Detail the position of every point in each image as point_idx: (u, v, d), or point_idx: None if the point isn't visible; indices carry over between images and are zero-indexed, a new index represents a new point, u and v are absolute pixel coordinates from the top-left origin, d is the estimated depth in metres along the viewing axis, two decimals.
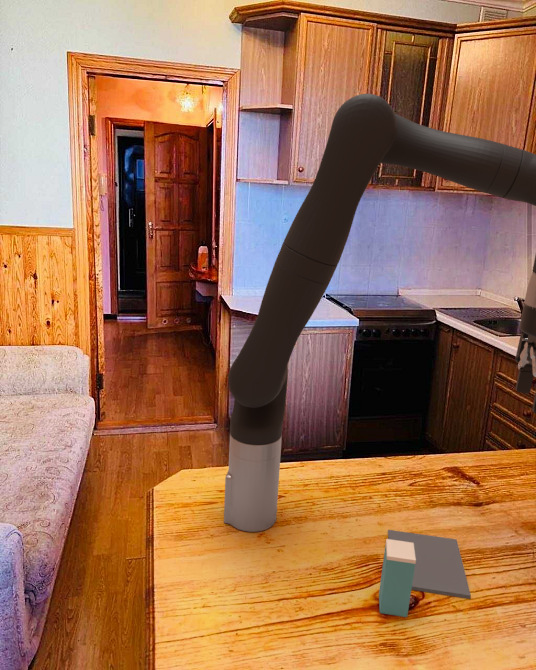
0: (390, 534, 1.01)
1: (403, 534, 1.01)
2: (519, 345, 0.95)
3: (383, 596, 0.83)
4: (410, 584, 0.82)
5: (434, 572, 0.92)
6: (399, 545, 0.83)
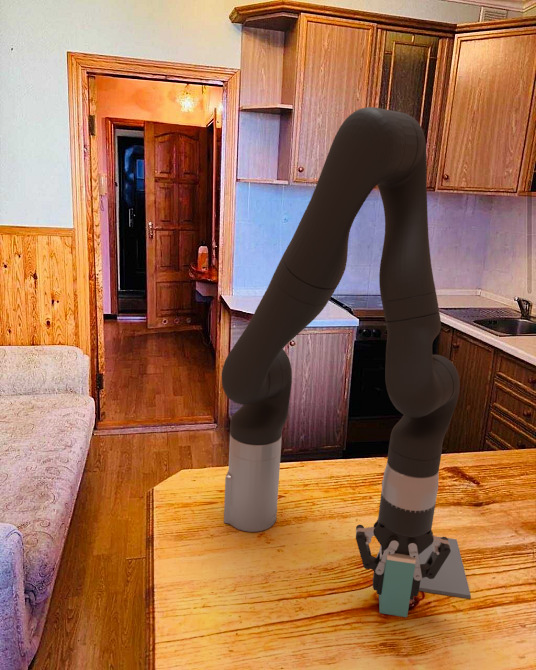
0: None
1: None
2: (363, 552, 0.82)
3: (383, 596, 0.83)
4: (410, 584, 0.82)
5: None
6: None
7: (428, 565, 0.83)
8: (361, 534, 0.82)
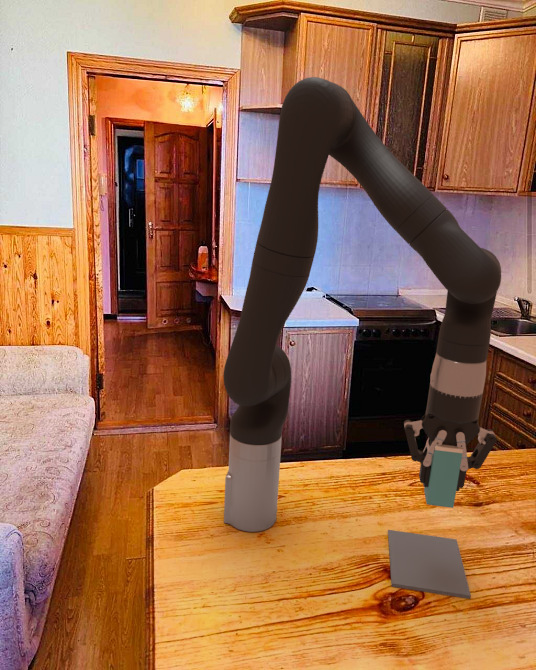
0: (390, 534, 1.01)
1: (403, 534, 1.01)
2: (412, 444, 0.86)
3: (430, 487, 0.87)
4: (457, 474, 0.85)
5: (434, 572, 0.92)
6: None
7: (473, 457, 0.87)
8: (410, 426, 0.85)
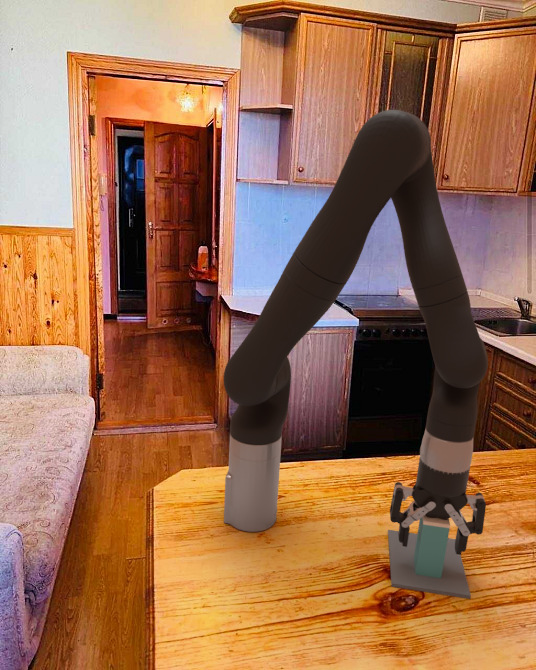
0: (390, 534, 1.01)
1: None
2: (396, 506, 0.89)
3: (419, 558, 0.90)
4: (444, 547, 0.89)
5: None
6: None
7: (474, 523, 0.90)
8: (401, 490, 0.89)
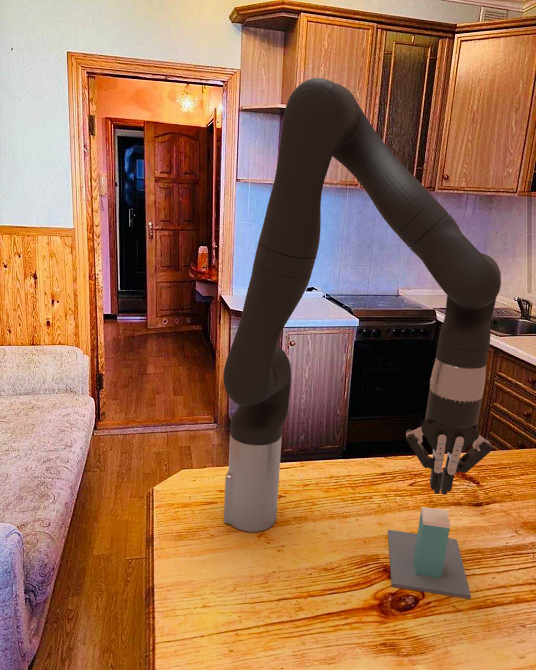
0: (390, 534, 1.01)
1: (403, 534, 1.01)
2: (418, 452, 0.86)
3: (419, 558, 0.90)
4: (444, 547, 0.89)
5: None
6: (434, 512, 0.91)
7: (462, 461, 0.87)
8: (411, 435, 0.86)
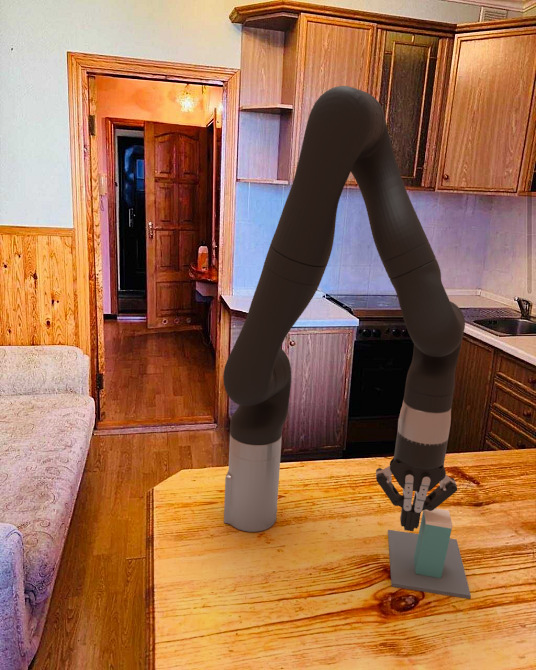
0: (390, 534, 1.01)
1: (403, 534, 1.01)
2: (388, 491, 0.89)
3: (420, 558, 0.90)
4: (446, 547, 0.89)
5: None
6: (436, 512, 0.91)
7: (429, 499, 0.90)
8: (380, 475, 0.88)
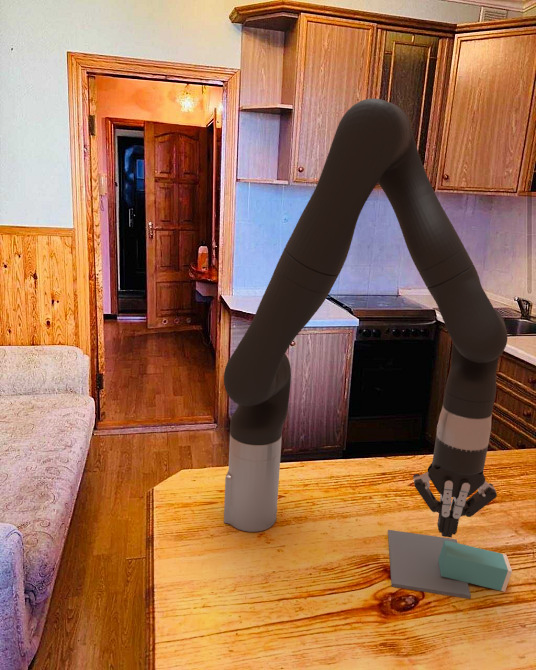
0: (390, 534, 1.01)
1: (403, 534, 1.01)
2: (426, 497, 0.88)
3: (466, 561, 0.89)
4: (478, 584, 0.90)
5: (434, 572, 0.92)
6: None
7: (467, 504, 0.89)
8: (418, 481, 0.88)
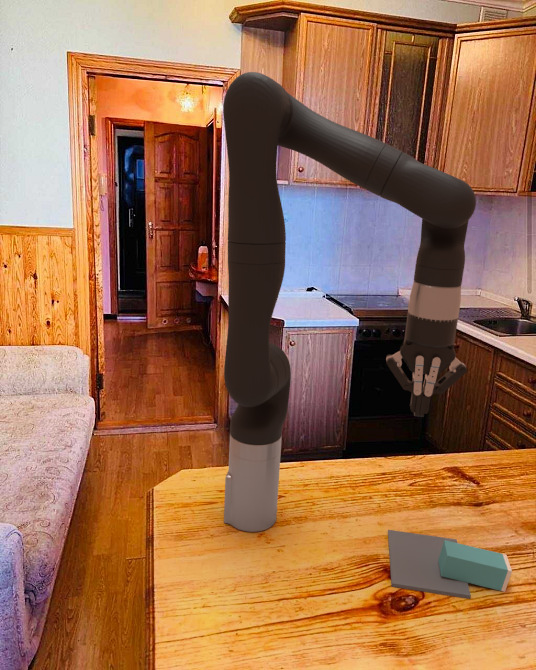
0: (390, 534, 1.01)
1: (403, 534, 1.01)
2: (398, 375, 0.90)
3: (466, 561, 0.89)
4: (478, 584, 0.90)
5: (434, 572, 0.92)
6: None
7: (439, 383, 0.90)
8: (390, 359, 0.89)
